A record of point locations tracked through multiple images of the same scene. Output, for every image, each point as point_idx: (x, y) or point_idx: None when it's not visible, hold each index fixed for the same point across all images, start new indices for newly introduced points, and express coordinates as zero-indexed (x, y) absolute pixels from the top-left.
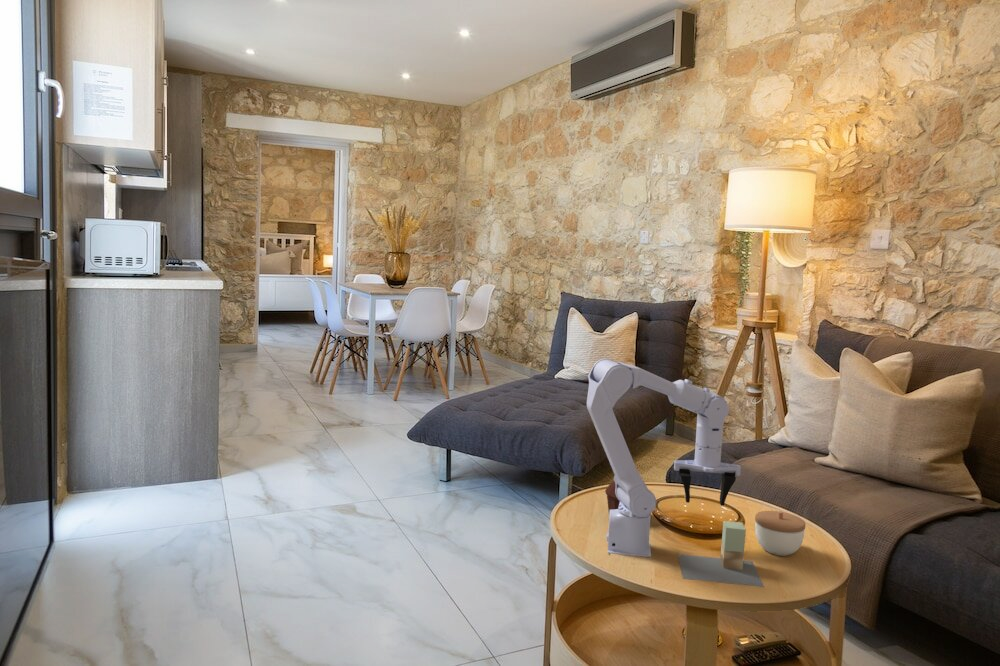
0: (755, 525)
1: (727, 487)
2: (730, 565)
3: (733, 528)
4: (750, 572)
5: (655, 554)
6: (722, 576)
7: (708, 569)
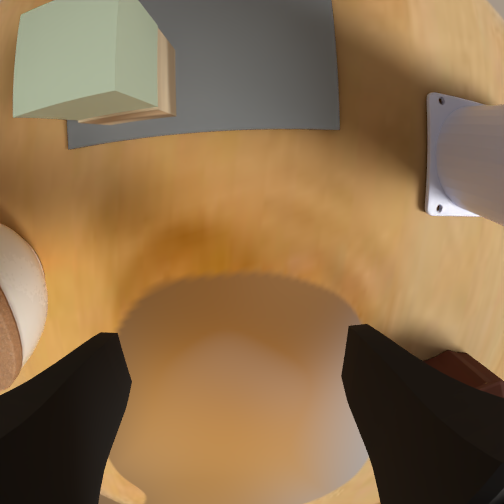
0: (24, 310)
1: (5, 407)
2: None
3: None
4: None
5: (410, 130)
6: None
7: (232, 22)
